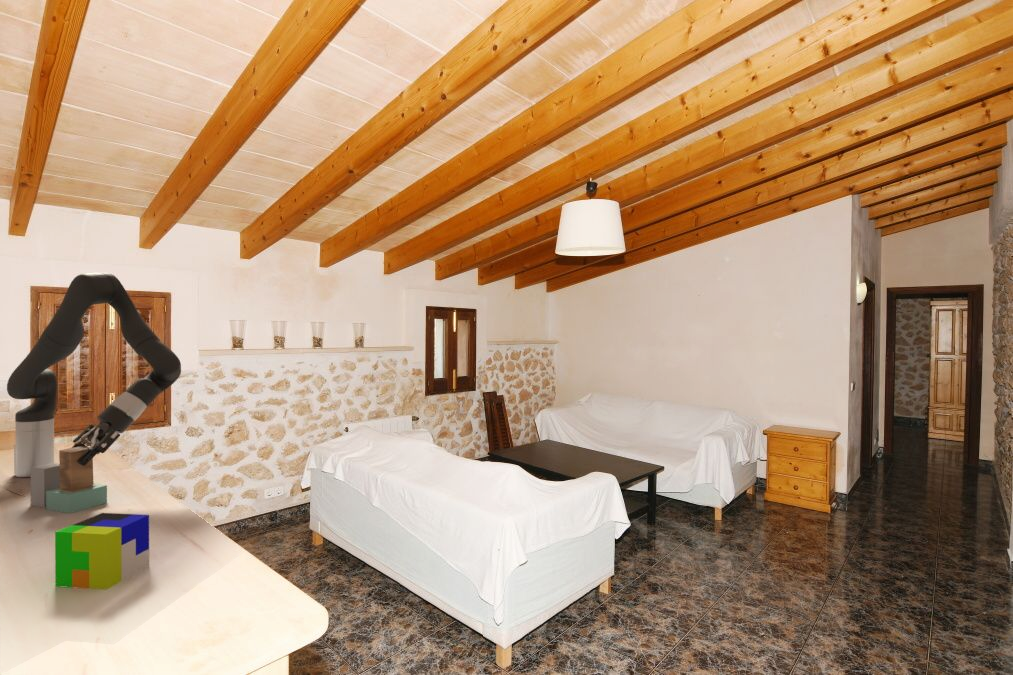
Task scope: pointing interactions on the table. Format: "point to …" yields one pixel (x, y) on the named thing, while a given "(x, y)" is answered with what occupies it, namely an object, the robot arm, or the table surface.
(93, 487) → the teal base block
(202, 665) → the table surface
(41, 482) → the slate-grey block
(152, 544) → the table surface
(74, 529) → the puzzle toy
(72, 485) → the walnut block
